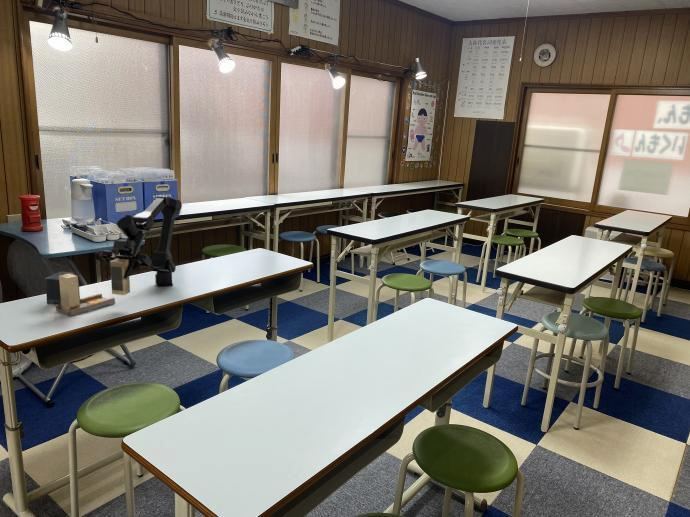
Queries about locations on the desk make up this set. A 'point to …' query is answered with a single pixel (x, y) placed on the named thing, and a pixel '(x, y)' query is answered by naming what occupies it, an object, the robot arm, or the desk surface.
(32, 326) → the desk surface
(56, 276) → the small box
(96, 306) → the rail
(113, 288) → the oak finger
